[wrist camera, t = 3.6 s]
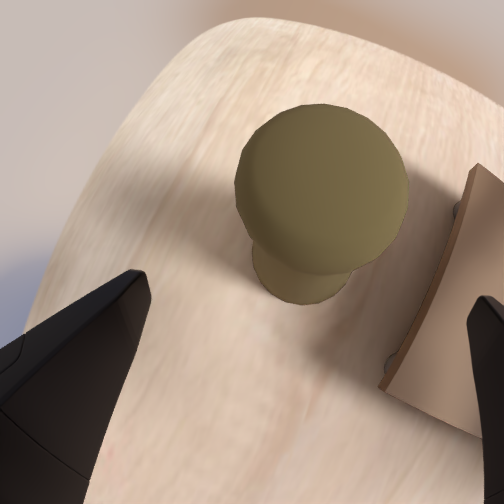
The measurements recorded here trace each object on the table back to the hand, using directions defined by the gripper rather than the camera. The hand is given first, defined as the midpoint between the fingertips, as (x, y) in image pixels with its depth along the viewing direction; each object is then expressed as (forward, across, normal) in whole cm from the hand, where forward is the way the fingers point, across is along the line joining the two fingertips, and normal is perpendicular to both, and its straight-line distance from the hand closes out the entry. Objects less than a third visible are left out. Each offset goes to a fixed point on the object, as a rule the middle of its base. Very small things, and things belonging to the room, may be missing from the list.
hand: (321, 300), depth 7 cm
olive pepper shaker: (+10, 0, +5) cm, 11 cm away
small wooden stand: (+6, -14, +8) cm, 18 cm away
